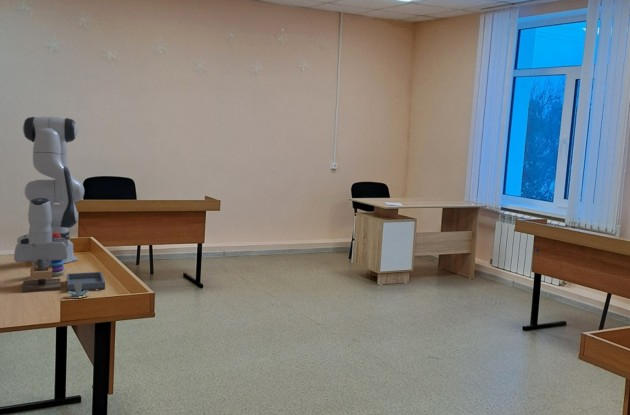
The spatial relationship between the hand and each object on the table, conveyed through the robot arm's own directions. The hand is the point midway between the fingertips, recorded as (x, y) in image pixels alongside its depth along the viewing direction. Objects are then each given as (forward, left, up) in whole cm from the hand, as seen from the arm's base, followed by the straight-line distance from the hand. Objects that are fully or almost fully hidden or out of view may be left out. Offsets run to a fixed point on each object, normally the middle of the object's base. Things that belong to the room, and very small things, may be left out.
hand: (41, 271), depth 257 cm
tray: (+8, +16, -5) cm, 19 cm away
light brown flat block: (+4, 0, -1) cm, 4 cm away
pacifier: (+26, +13, -5) cm, 29 cm away
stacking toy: (-13, +5, -5) cm, 15 cm away
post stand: (+6, 0, -5) cm, 8 cm away
